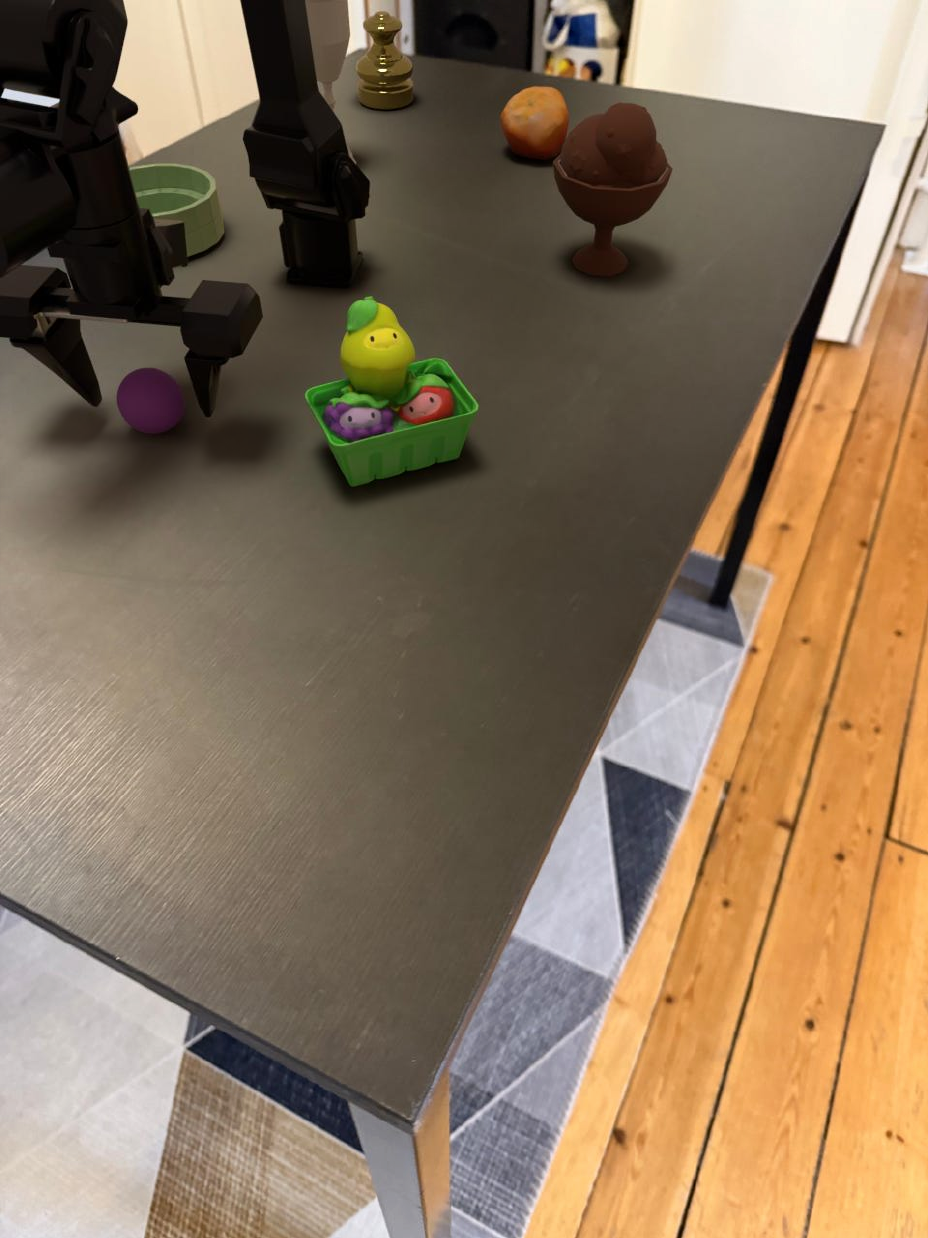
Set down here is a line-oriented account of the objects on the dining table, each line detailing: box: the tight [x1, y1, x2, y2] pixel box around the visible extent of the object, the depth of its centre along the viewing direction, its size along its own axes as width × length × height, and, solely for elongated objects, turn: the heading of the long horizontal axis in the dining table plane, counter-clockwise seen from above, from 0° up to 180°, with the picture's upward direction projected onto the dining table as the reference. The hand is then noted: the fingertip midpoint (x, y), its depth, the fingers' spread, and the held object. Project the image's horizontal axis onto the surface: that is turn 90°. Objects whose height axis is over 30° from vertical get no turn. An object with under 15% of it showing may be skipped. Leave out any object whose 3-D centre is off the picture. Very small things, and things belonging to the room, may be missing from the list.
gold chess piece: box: [355, 10, 414, 111], centre depth 115 cm, size 7×7×10 cm
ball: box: [116, 367, 185, 434], centre depth 69 cm, size 5×5×5 cm
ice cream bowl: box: [552, 102, 674, 277], centre depth 84 cm, size 11×11×15 cm
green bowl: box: [129, 163, 225, 258], centre depth 90 cm, size 12×12×5 cm
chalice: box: [305, 0, 357, 165], centre depth 98 cm, size 7×7×18 cm
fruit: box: [499, 85, 570, 161], centre depth 106 cm, size 8×8×8 cm
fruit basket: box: [304, 295, 479, 487], centre depth 65 cm, size 11×9×11 cm
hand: (153, 408), depth 70 cm, fingers open, 9 cm apart
